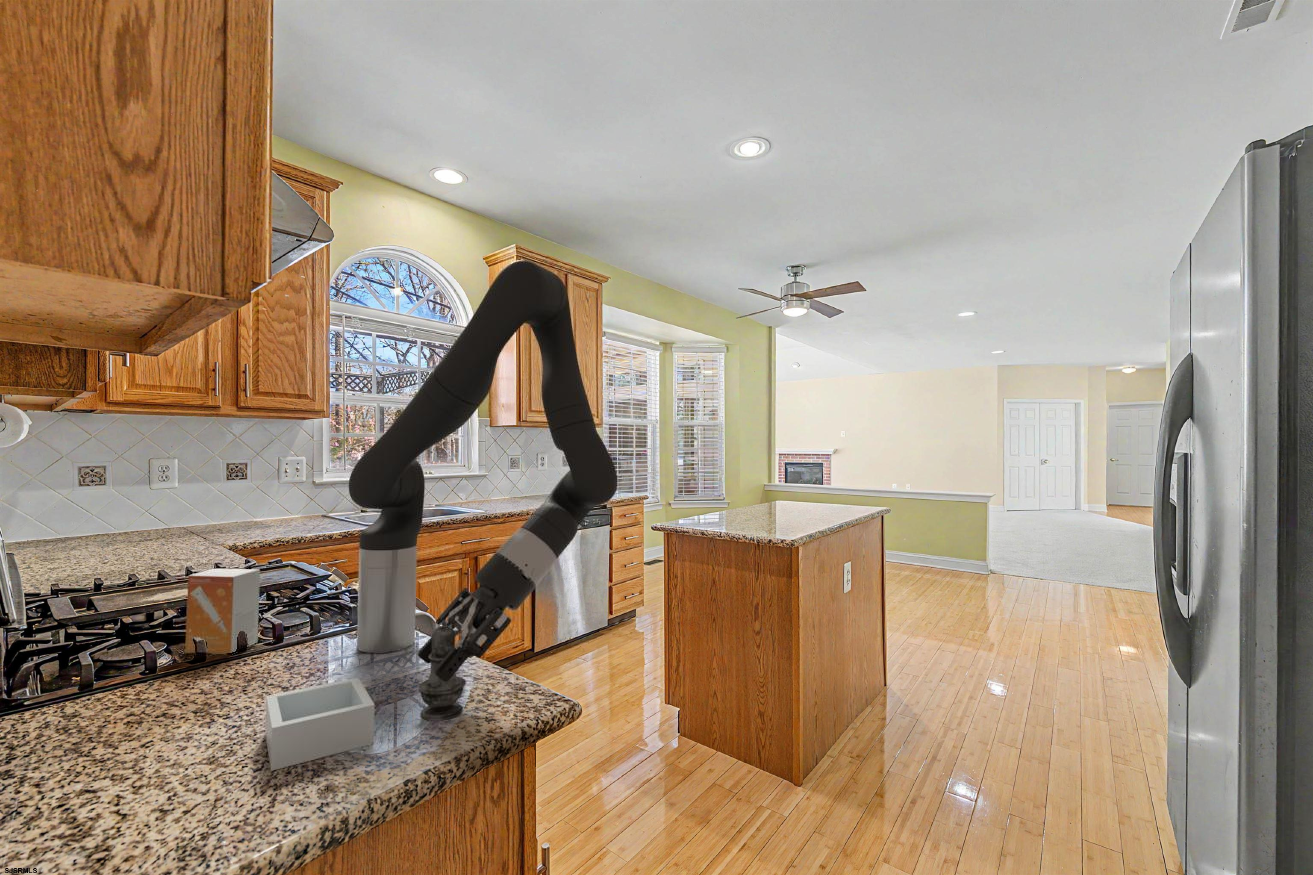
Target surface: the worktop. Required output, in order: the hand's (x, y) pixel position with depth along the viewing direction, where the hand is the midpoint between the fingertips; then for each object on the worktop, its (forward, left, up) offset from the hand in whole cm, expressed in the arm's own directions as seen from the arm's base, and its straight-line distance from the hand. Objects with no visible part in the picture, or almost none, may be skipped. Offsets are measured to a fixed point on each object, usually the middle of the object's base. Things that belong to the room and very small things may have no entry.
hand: (430, 668), depth 76 cm
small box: (-46, -21, -6) cm, 51 cm away
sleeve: (-1, -12, -6) cm, 14 cm away
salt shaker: (0, +2, -6) cm, 6 cm away
